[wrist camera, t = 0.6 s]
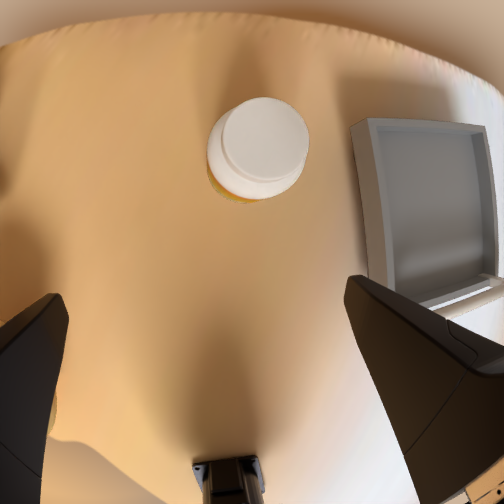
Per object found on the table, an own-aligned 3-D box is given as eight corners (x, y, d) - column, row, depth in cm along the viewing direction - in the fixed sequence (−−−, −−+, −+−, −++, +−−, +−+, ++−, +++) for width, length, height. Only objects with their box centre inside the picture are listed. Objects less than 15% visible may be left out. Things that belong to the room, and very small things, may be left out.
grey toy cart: (464, 274, 27) (520, 290, 19) (359, 305, 25) (411, 336, 18) (451, 134, 25) (507, 120, 17) (338, 133, 23) (389, 105, 16)
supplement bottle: (258, 216, 24) (293, 218, 14) (193, 183, 23) (184, 161, 13) (291, 154, 23) (342, 120, 14) (228, 120, 22) (242, 64, 13)
